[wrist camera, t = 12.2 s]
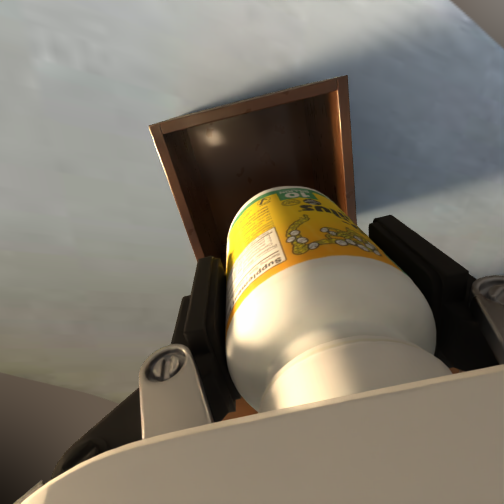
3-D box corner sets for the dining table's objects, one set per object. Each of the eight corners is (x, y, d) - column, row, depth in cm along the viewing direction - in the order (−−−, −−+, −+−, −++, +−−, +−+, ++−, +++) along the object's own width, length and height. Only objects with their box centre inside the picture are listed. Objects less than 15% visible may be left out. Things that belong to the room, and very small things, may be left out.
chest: (176, 116, 32) (148, 125, 21) (307, 83, 31) (347, 74, 21) (217, 248, 40) (212, 304, 29) (324, 223, 39) (360, 271, 28)
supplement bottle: (204, 249, 14) (157, 502, 5) (280, 154, 12) (405, 296, 3) (290, 305, 15) (362, 562, 7) (367, 230, 14) (594, 448, 5)
